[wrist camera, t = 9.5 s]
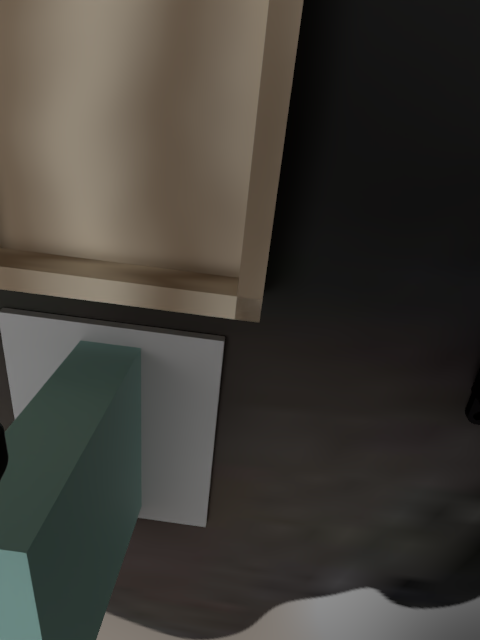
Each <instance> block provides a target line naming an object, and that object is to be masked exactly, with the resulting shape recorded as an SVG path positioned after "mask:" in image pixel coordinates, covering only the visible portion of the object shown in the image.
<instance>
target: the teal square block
mask: <svg viewBox="0 0 480 640" xmlns="http://www.w3.org/2000/svg"><path fill="white" fill-rule="evenodd" d="M5 438H6V444H7V450H8V457H9V458H8V465H7V468H6V470H5V472H4V474H3V477H2V479H1V481H0V640H96V638H97V635H98V632H99V629H100V626H101V623H102V621H103V617H104V615H105V612H106V609H107V606H108V603H109V600H110V597H111V594H112V591H113V588H114V586H115V583H116V580H117V577H118V574H119V571H120V568H121V565H122V562H123V559H124V556H125V553H126V550H127V547H128V545H129V542H130V539H131V536H132V533H133V530H134V527H135V524H136V521H137V518H138V515H139V512H140V509H141V506H142V489H141V348H136V347H129V346H121V345H113V344H105V343H97V342H89V341H81V340H80V342H79V343H78V344H77V345H76V347H75V348H74V349H73V350H72V351H71V353H70V354H69V355H68V356H67V357H66V359H65V360H64V361H63V362H62V363H61V365H60V366H59V367H58V368H57V370H56V371H55V372H54V373H53V374H52V376H51V377H50V378H49V379H48V380H47V382H46V383H45V384H44V385H43V387H42V388H41V389H40V390H39V391H38V393H37V394H36V395H35V396H34V397H33V399H32V400H31V401H30V402H29V404H28V405H27V406H26V407H25V408H24V410H23V411H22V412H21V413H20V414H19V416H18V417H17V418H16V419H15V420H14V422H13V423H12V424H11V425H10V427H9V428H8V429H7V430H6V431H5Z"/></svg>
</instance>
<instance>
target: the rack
mask: <svg viewBox="0 0 480 640" xmlns="http://www.w3.org/2000/svg"><path fill="white" fill-rule="evenodd" d="M303 1H304V0H0V289H3V290H11V291H19V292H26V293H34V294H42V295H50V296H57V297H65V298H73V299H81V300H88V301H96V302H104V303H112V304H119V305H127V306H135V307H143V308H150V309H158V310H166V311H174V312H181V313H189V314H197V315H205V316H212V317H220V318H228V319H236V320H243V321H251V322H260V314H261V307H262V300H263V292H264V285H265V278H266V271H267V263H268V256H269V249H270V241H271V234H272V227H273V219H274V212H275V205H276V198H277V190H278V183H279V176H280V168H281V161H282V154H283V147H284V139H285V132H286V125H287V117H288V110H289V103H290V95H291V88H292V81H293V74H294V66H295V59H296V52H297V44H298V37H299V30H300V22H301V15H302V8H303Z"/></svg>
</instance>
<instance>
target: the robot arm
mask: <svg viewBox="0 0 480 640" xmlns="http://www.w3.org/2000/svg"><path fill="white" fill-rule="evenodd" d="M471 391H472V392H473V393H472V395H471V397H470V400H469V402H468V405H467V407H466V410H465V414H466V416H467V418H468V420H469V421H470V422H471V423H473V424H478V425H480V413H479V414H478V415H474V414H475V413H477V412H480V369H479V371H478V374H477V376H476V379H475V381H474V383H473V386H472V389H471ZM8 458H9V457H8V450H7V444H6V438H5V432H4V428H3V426H2V424H1V423H0V481H1V479H2V477H3V474H4V472H5V470H6V468H7V465H8Z"/></svg>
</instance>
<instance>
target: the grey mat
mask: <svg viewBox="0 0 480 640" xmlns="http://www.w3.org/2000/svg"><path fill="white" fill-rule="evenodd" d="M0 329H1V336H2V342H3V348H4V354H5V361H6V367H7V373H8V380H9V386H10V392H11V399H12V405H13V411H14V418H15V419H16V418H17V417H18V416H19V414H20V413H21V412H22V411H23V410H24V408H25V407H26V406H27V405H28V404H29V402H30V401H31V400H32V399H33V397H34V396H35V395H36V394H37V393H38V391H39V390H40V389H41V388H42V387H43V385H44V384H45V383H46V382H47V380H48V379H49V378H50V377H51V376H52V374H53V373H54V372H55V371H56V370H57V368H58V367H59V366H60V365H61V363H62V362H63V361H64V360H65V359H66V357H67V356H68V355H69V354H70V353H71V351H72V350H73V349H74V348H75V347H76V345H77V344H78V343H79V342H80V340H81V341H89V342H97V343H105V344H113V345H121V346H129V347H136V348H141V489H142V506H141V509H140V512H139V515H138V518H144V519H151V520H158V521H165V522H172V523H180V524H187V525H194V526H201V527H206V522H207V513H208V503H209V493H210V483H211V473H212V463H213V453H214V443H215V433H216V423H217V413H218V403H219V393H220V383H221V373H222V363H223V353H224V343H225V336H218V335H210V334H203V333H195V332H187V331H180V330H172V329H164V328H157V327H149V326H141V325H134V324H126V323H118V322H111V321H103V320H95V319H87V318H80V317H72V316H64V315H57V314H49V313H41V312H34V311H26V310H18V309H11V308H2V309H1V310H0Z"/></svg>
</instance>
